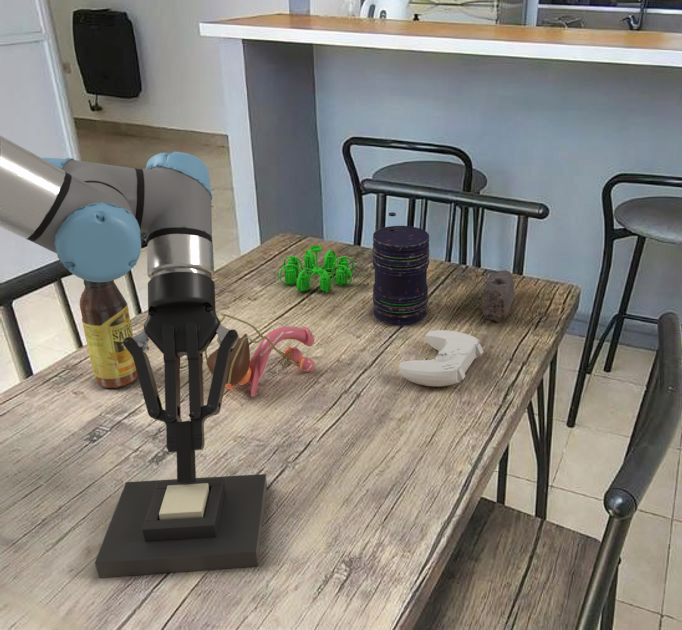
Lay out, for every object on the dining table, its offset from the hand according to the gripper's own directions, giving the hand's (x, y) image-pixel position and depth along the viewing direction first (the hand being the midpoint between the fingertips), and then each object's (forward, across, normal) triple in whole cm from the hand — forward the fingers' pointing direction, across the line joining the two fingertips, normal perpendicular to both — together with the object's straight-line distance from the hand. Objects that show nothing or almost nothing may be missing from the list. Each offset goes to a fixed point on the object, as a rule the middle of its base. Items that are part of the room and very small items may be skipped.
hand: (186, 481), depth 75 cm
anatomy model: (-15, -8, -24) cm, 29 cm away
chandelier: (-39, -17, -49) cm, 65 cm away
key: (+3, 0, 0) cm, 3 cm away
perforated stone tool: (-27, -49, -37) cm, 67 cm away
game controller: (-14, -35, -24) cm, 44 cm away
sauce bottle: (-18, +14, -26) cm, 34 cm away
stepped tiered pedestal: (+5, 0, -2) cm, 6 cm away
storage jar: (-27, -31, -37) cm, 56 cm away
